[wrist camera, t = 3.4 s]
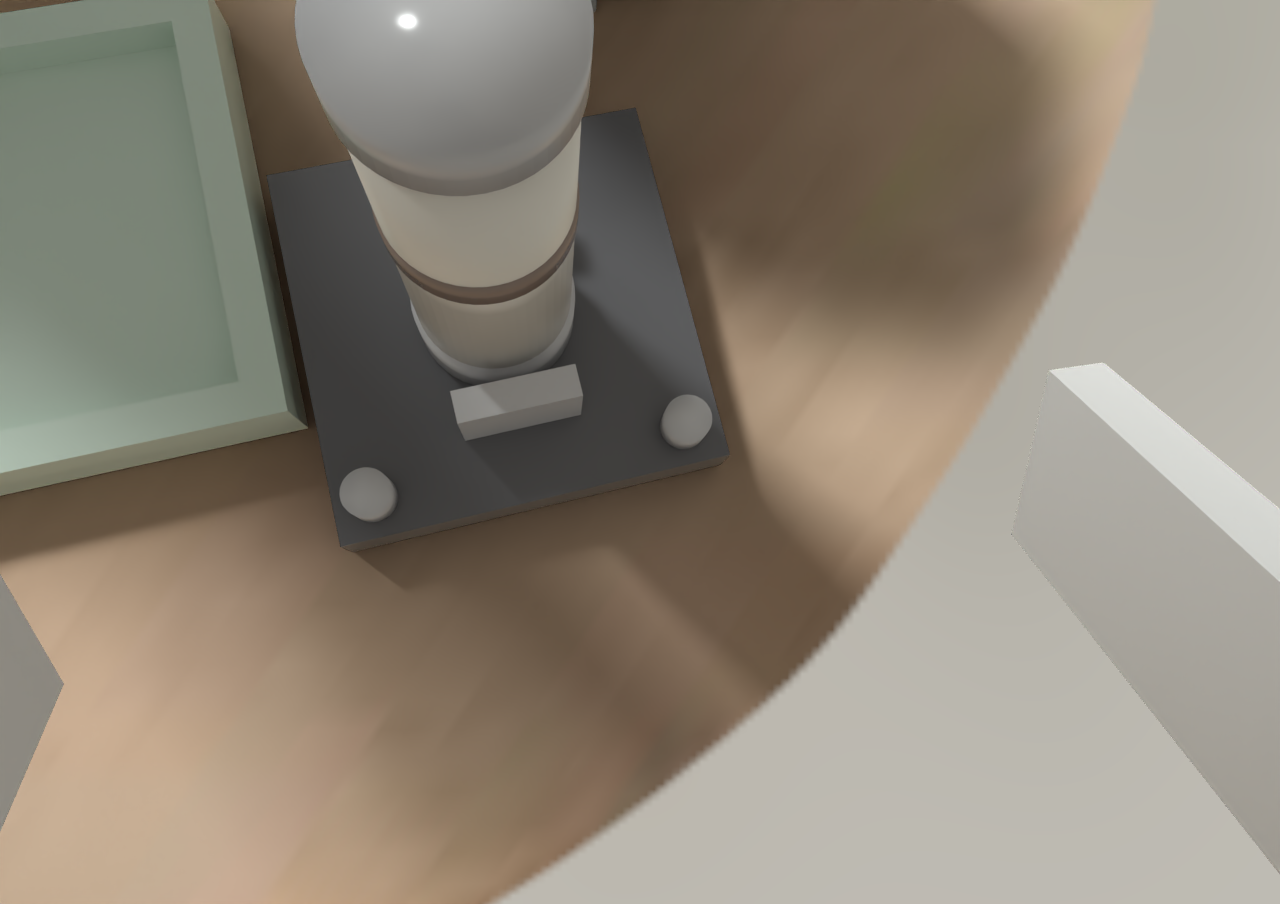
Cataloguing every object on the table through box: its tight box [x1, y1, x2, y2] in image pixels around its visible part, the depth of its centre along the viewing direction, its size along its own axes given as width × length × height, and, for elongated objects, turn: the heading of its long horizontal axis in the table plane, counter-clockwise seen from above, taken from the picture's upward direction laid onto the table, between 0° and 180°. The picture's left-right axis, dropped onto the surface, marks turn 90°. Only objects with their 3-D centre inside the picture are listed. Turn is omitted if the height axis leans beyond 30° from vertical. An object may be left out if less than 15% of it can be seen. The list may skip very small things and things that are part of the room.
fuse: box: [295, 0, 594, 386], centre depth 19 cm, size 4×4×12 cm
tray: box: [0, 0, 308, 496], centre depth 24 cm, size 12×12×2 cm
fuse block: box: [266, 108, 730, 552], centre depth 24 cm, size 10×10×4 cm
